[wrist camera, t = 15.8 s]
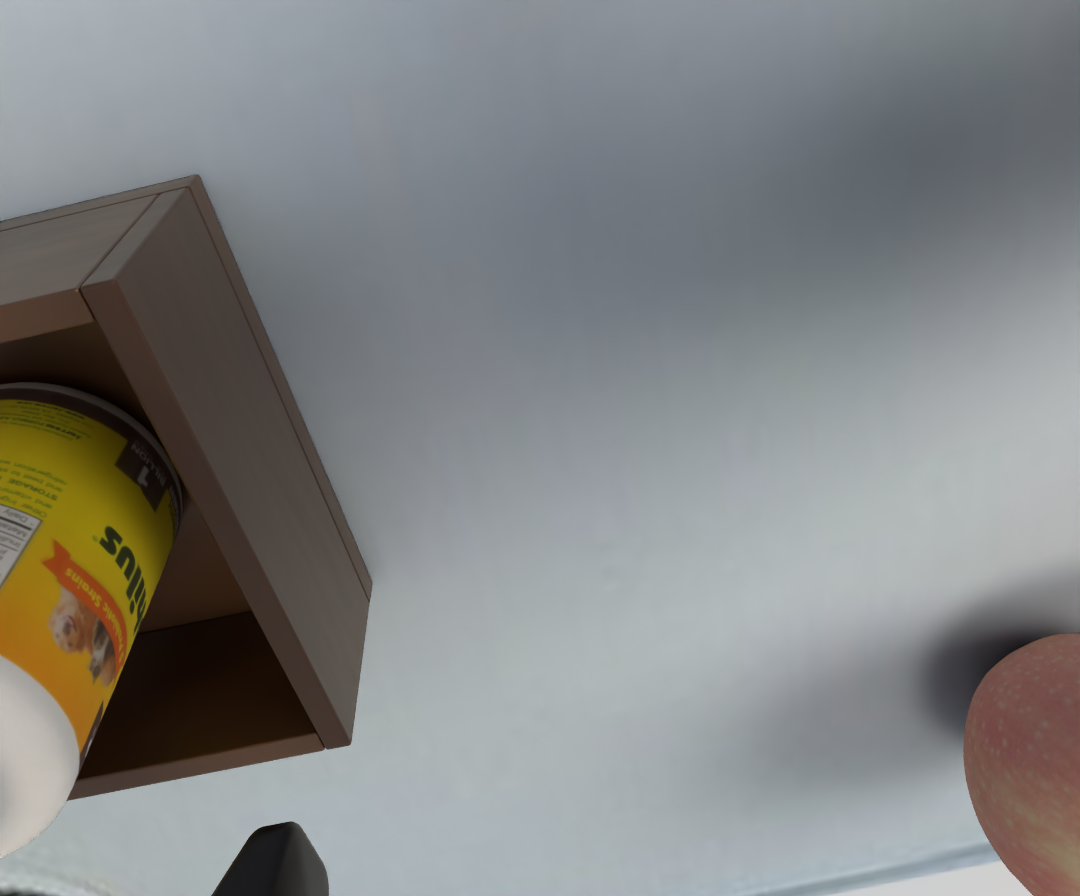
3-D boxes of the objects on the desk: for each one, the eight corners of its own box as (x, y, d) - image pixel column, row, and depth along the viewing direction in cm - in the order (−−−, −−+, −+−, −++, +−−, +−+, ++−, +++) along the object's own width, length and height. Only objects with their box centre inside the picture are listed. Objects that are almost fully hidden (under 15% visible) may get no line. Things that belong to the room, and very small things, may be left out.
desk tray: (199, 172, 18) (114, 279, 14) (373, 582, 25) (351, 746, 20) (-317, 297, 19) (-553, 434, 15) (-22, 664, 25) (-127, 840, 21)
